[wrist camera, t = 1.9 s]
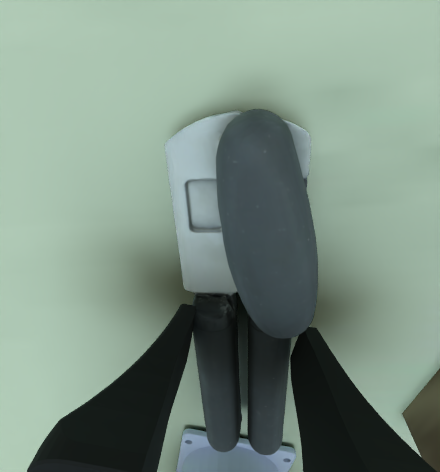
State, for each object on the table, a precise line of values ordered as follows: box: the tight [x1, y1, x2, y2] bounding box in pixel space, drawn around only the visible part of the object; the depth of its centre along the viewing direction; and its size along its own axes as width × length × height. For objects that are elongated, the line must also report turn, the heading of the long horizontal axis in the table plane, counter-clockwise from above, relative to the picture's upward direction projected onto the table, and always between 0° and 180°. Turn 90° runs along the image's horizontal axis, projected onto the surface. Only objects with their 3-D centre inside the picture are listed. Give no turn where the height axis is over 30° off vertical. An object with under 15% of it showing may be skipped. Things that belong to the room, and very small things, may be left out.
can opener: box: [164, 109, 318, 455], centre depth 13 cm, size 19×5×6 cm, turn 3°
